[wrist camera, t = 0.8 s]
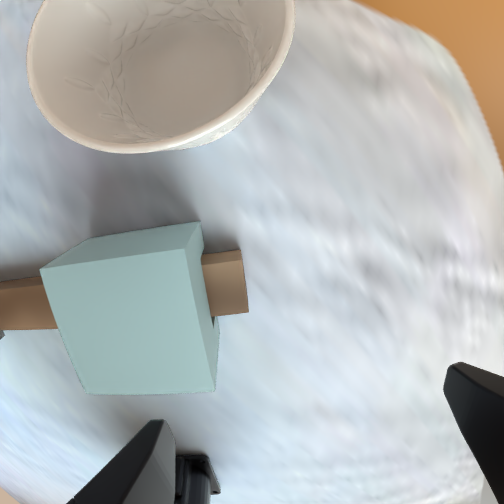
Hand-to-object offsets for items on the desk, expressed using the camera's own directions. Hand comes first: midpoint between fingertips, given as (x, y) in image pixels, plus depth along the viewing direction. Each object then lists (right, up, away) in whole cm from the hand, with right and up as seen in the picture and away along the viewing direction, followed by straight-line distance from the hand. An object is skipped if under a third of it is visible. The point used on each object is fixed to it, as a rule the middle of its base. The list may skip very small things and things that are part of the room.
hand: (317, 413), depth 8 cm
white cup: (-5, +13, +9) cm, 17 cm away
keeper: (-8, +2, +11) cm, 14 cm away
